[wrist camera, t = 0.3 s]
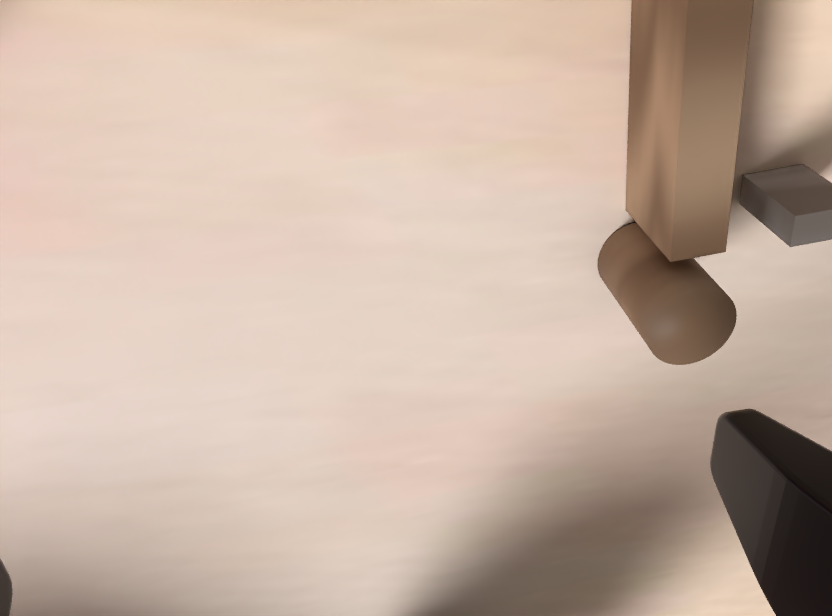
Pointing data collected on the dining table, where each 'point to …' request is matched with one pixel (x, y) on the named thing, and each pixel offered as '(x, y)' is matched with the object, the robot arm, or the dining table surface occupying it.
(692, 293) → the fence
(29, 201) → the dining table surface
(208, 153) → the dining table surface
